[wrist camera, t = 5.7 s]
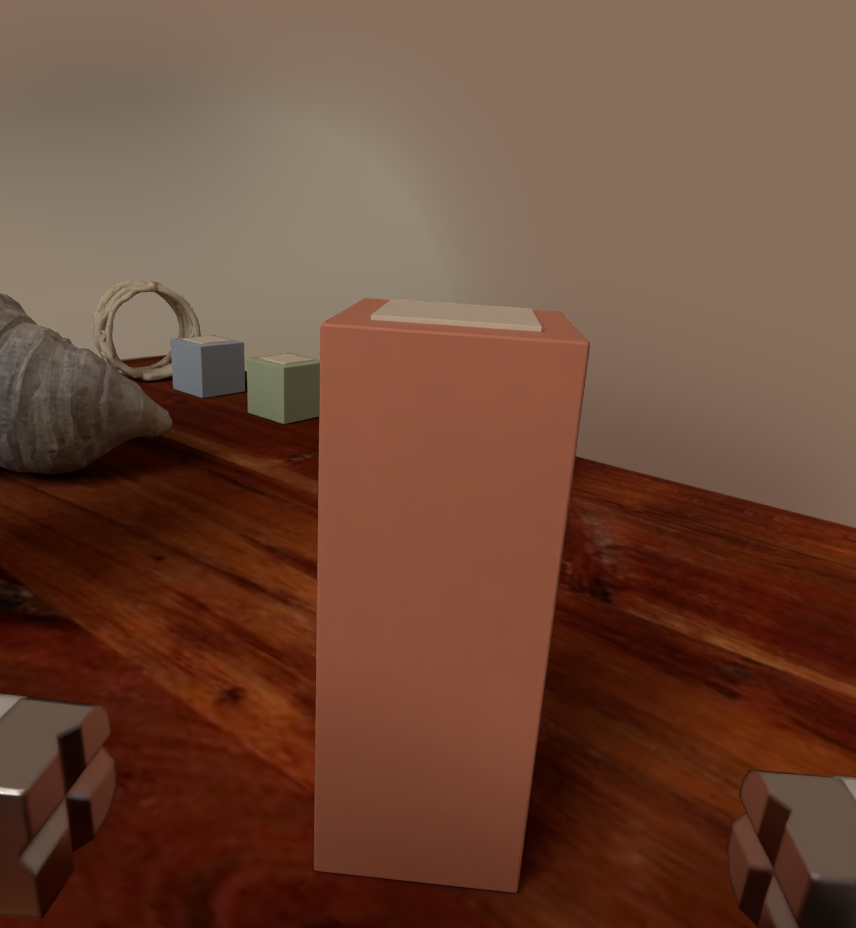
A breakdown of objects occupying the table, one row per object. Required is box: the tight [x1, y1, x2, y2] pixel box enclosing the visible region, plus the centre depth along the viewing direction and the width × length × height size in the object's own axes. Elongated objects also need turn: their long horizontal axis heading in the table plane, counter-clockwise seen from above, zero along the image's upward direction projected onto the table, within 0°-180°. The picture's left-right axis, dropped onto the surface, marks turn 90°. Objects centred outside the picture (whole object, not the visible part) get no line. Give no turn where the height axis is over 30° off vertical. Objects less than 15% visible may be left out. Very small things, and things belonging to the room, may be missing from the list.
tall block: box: [314, 298, 590, 893], centre depth 16 cm, size 4×4×12 cm
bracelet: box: [91, 280, 201, 381], centre depth 59 cm, size 4×8×8 cm, turn 134°
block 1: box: [171, 335, 245, 398], centre depth 57 cm, size 4×4×4 cm
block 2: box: [247, 353, 320, 424], centre depth 51 cm, size 4×4×4 cm
